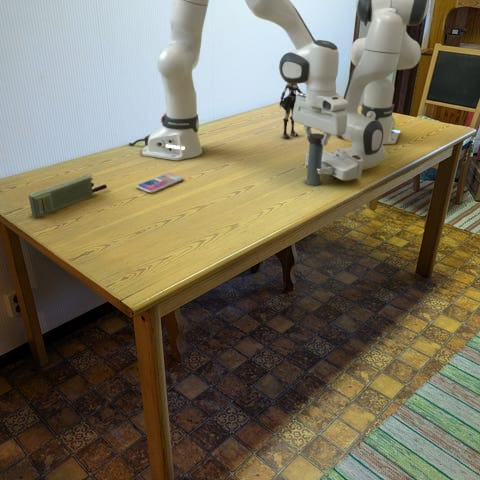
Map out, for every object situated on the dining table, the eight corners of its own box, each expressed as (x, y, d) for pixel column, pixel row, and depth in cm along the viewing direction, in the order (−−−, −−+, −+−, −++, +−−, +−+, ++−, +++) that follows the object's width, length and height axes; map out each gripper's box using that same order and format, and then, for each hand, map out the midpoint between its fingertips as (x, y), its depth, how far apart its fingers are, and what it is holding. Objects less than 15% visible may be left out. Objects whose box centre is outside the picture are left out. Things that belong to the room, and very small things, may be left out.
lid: (324, 144, 158) (324, 138, 157) (307, 143, 158) (308, 137, 157) (325, 140, 162) (325, 134, 161) (309, 138, 163) (309, 132, 162)
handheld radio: (30, 215, 144) (102, 188, 161) (37, 219, 142) (109, 191, 159) (26, 193, 140) (100, 168, 157) (33, 197, 138) (107, 171, 155)
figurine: (282, 141, 203) (286, 63, 188) (271, 138, 207) (274, 61, 192) (306, 134, 212) (311, 59, 197) (295, 130, 215) (300, 57, 201)
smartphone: (184, 177, 167) (150, 191, 157) (184, 180, 167) (151, 194, 157) (168, 171, 171) (134, 185, 161) (168, 174, 171) (135, 188, 161)
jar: (315, 179, 169) (319, 135, 162) (321, 184, 166) (326, 139, 158) (304, 181, 168) (307, 136, 161) (309, 186, 164) (313, 141, 157)
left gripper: (289, 92, 159) (286, 135, 166) (337, 106, 145) (332, 153, 152) (304, 90, 162) (300, 132, 169) (352, 103, 148) (347, 148, 155)
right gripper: (325, 143, 177) (293, 150, 170) (366, 161, 161) (333, 169, 155) (323, 160, 180) (292, 167, 173) (364, 179, 165) (331, 188, 158)
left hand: (316, 142), depth 160 cm, fingers closed on lid, 5 cm apart
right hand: (312, 168), depth 164 cm, fingers closed on jar, 4 cm apart
